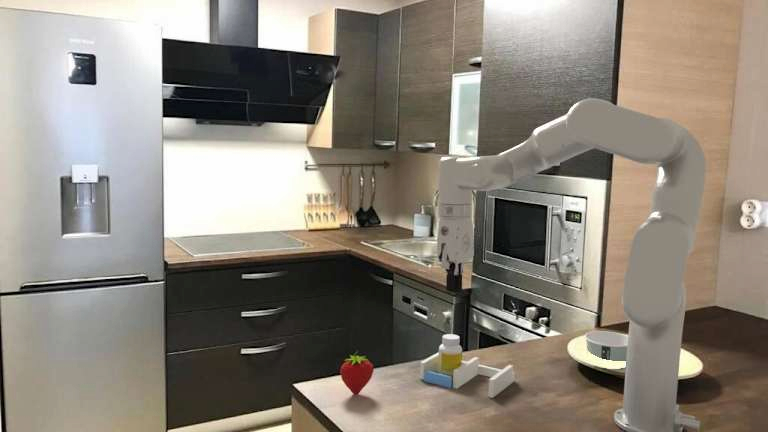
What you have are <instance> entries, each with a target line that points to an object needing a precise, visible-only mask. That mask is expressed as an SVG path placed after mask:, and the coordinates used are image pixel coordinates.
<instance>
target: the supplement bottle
mask: <svg viewBox="0 0 768 432" xmlns="http://www.w3.org/2000/svg"><path fill="white" fill-rule="evenodd" d="M441 338H442V341H441V342H442V343H441V344H440V345H439V347H438V352H439V360H438V371H437V373H438V374H442V375H446V376H450V377H452V382H453V372H454V370H455V369H457V368H458V367H460V366H461V365H462V361H463V359H462V358H463V348H462V346H461V345H460V342H461V341H460V336H459V335H457V334H452V333H447V334H443V335H442V337H441Z"/></svg>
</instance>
